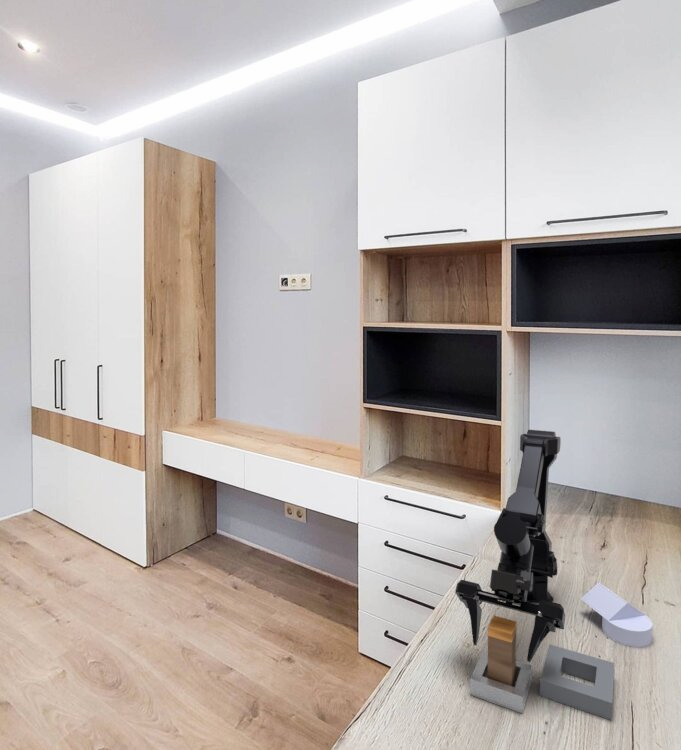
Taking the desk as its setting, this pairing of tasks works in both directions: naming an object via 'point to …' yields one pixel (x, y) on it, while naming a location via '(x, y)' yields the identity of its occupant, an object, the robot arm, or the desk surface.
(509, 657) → the plug
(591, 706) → the socket
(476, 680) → the frame
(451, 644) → the desk surface
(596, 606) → the wedge on round base
